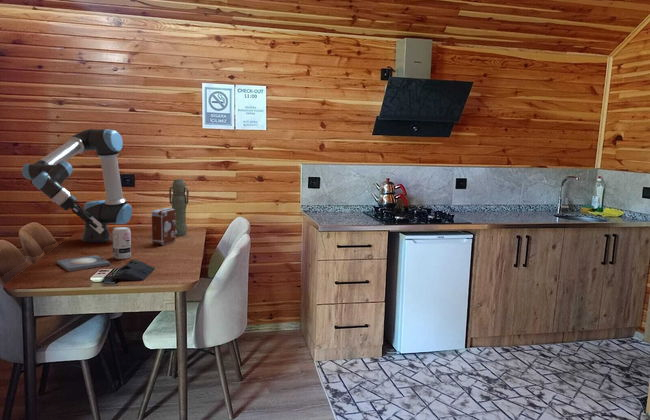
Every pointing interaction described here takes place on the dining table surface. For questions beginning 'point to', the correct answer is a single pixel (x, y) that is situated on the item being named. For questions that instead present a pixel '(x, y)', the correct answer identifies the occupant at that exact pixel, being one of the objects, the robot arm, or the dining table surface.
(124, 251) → the supplement can
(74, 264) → the board
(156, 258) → the dining table surface
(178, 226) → the thermos
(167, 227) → the cine camera
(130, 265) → the crumpled black cloth
